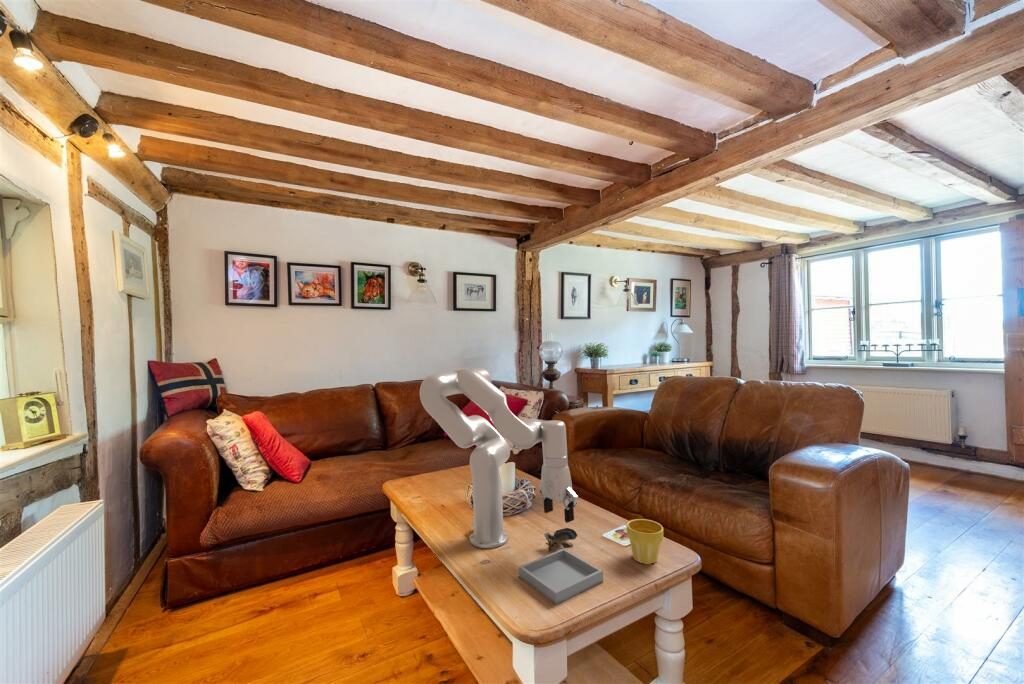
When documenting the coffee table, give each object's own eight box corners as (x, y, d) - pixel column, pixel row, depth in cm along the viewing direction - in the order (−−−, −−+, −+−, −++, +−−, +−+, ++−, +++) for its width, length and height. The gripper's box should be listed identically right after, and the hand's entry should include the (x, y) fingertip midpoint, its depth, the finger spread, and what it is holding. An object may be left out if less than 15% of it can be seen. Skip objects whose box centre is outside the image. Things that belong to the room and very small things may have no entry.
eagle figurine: (559, 555, 129) (582, 541, 134) (548, 531, 132) (570, 519, 137) (549, 559, 135) (571, 546, 140) (538, 536, 138) (560, 524, 143)
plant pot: (656, 549, 134) (655, 517, 134) (669, 567, 123) (668, 532, 123) (623, 550, 133) (622, 519, 133) (633, 568, 123) (632, 534, 123)
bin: (519, 577, 120) (518, 566, 120) (564, 558, 130) (564, 548, 130) (556, 605, 107) (556, 593, 107) (603, 581, 117) (603, 570, 117)
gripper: (528, 458, 139) (532, 511, 139) (565, 469, 125) (568, 529, 125) (546, 453, 144) (550, 505, 144) (584, 464, 130) (587, 521, 130)
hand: (558, 516), depth 135 cm, fingers open, 9 cm apart
